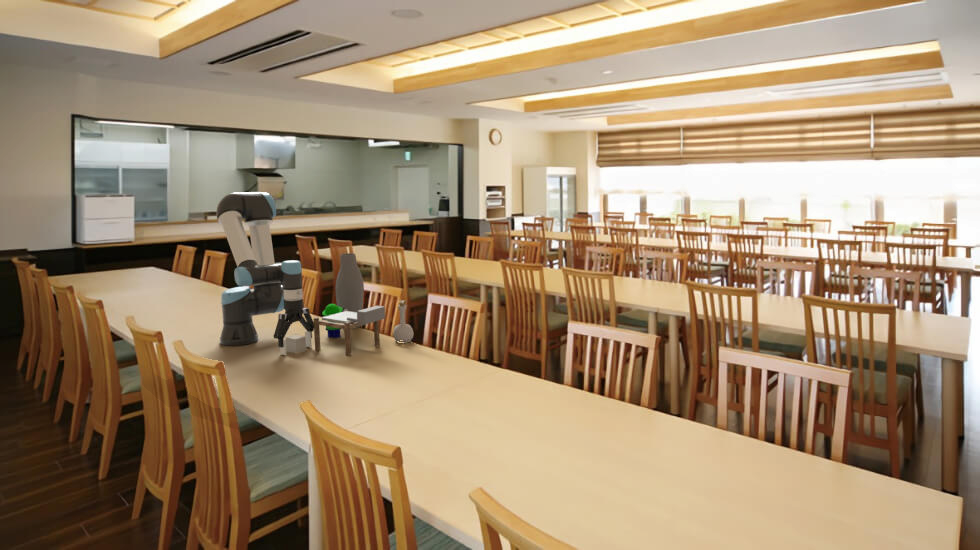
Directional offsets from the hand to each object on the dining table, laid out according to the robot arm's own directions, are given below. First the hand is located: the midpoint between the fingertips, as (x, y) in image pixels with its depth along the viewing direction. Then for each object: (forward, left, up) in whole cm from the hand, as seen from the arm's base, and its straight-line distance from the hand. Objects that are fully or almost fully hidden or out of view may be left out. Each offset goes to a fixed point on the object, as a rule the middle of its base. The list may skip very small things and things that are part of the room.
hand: (296, 350), depth 236 cm
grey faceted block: (+19, +14, +12) cm, 27 cm away
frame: (+15, +14, 0) cm, 20 cm away
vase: (-9, +42, 0) cm, 43 cm away
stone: (0, 0, 0) cm, 0 cm away
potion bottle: (+29, +33, 0) cm, 44 cm away
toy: (-3, +24, 0) cm, 24 cm away
